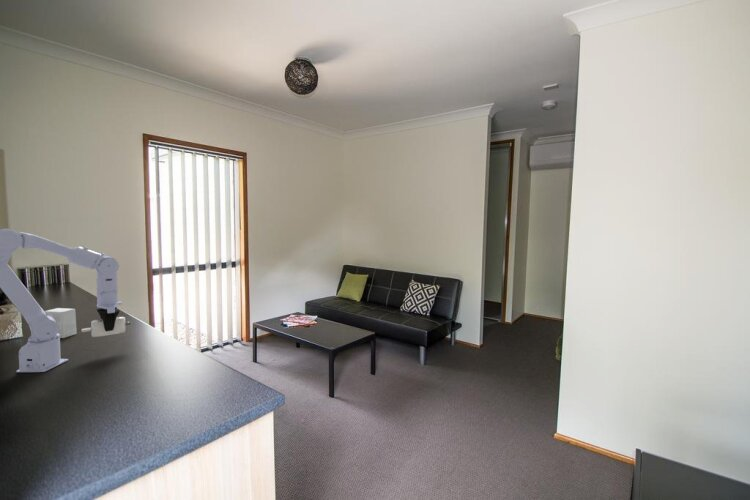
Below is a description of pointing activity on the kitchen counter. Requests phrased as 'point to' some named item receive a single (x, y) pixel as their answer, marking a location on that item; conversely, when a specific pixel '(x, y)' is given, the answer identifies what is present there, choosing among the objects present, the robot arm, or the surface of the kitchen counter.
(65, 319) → the small box
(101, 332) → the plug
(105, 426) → the kitchen counter surface
